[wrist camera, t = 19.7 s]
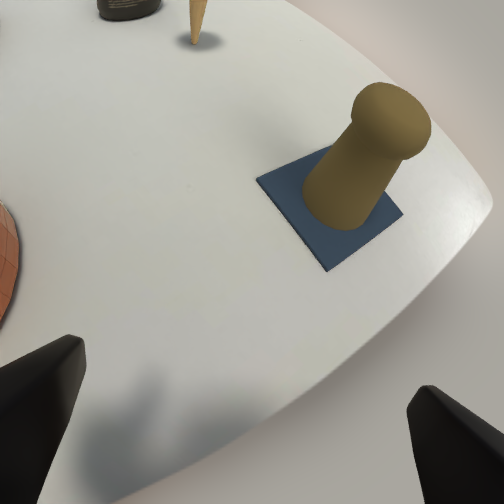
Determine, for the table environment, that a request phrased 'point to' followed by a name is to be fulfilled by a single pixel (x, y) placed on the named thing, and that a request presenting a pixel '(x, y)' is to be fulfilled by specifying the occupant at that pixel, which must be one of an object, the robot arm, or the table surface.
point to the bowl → (7, 257)
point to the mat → (311, 229)
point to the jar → (126, 8)
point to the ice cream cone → (196, 17)
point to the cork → (366, 156)
